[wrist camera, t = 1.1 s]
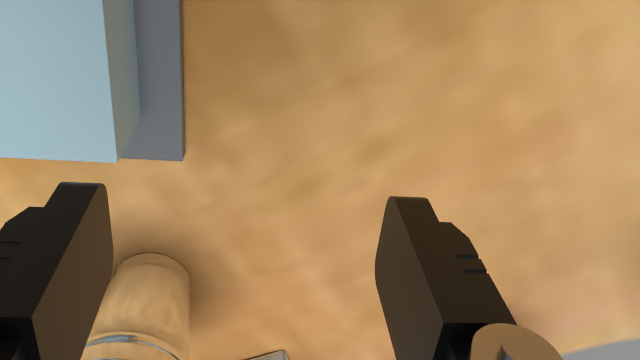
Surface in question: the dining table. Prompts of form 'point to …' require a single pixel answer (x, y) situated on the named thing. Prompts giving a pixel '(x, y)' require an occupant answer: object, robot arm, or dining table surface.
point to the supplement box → (273, 356)
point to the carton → (67, 79)
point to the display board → (159, 82)
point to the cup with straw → (143, 312)
